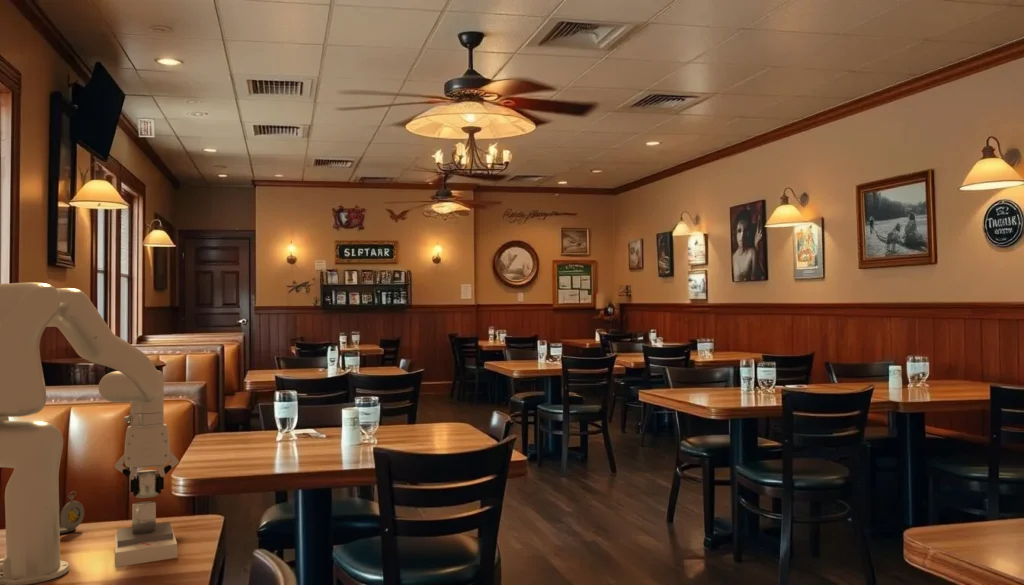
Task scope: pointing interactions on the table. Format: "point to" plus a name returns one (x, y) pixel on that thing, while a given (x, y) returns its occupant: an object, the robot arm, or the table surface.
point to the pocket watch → (71, 515)
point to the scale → (145, 545)
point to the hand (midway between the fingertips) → (147, 493)
